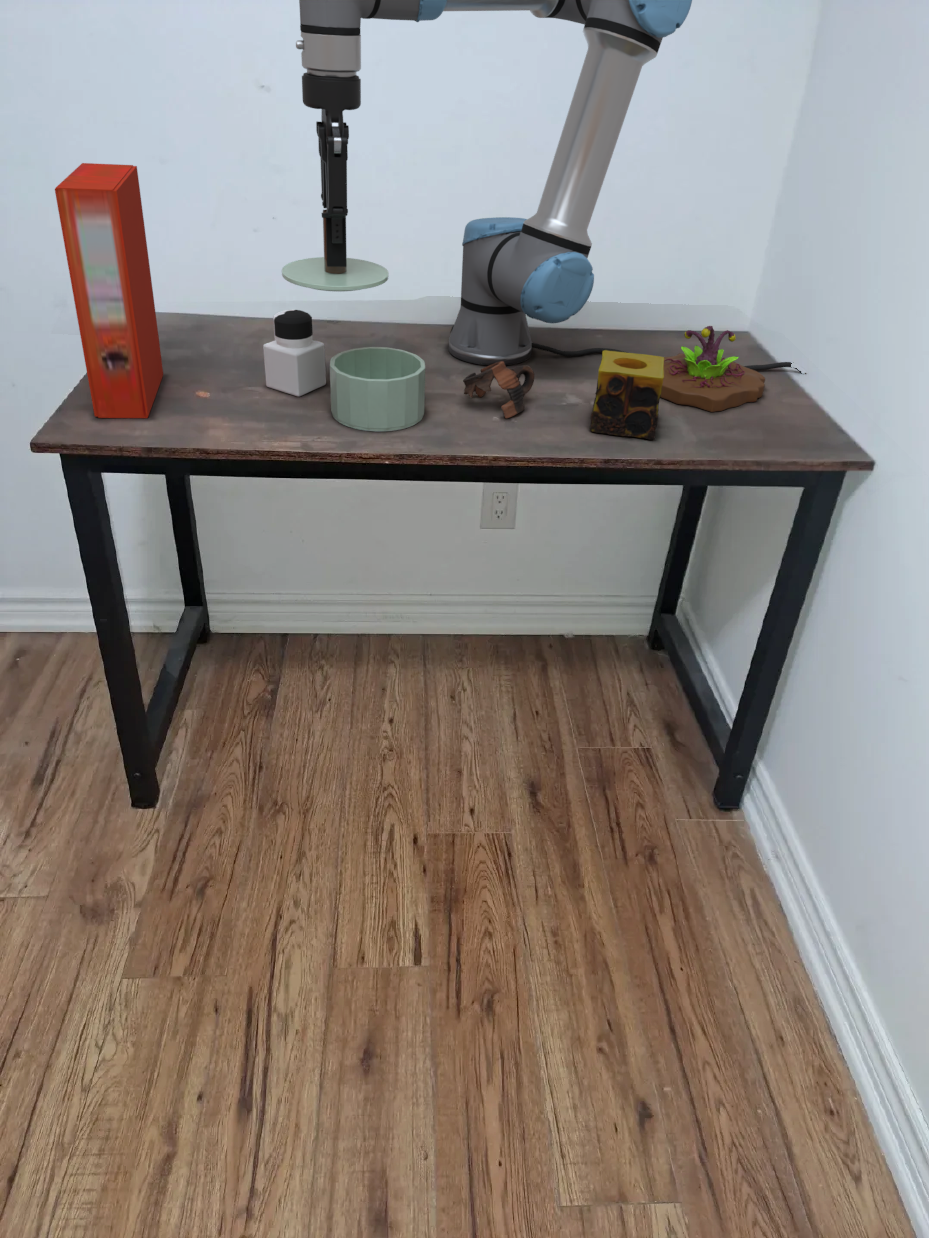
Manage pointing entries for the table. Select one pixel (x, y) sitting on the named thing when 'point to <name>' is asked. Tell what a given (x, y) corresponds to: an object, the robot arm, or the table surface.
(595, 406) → the yellow brown holed block
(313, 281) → the basin lid
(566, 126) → the robot arm
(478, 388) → the brown grey curved piece
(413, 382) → the basin
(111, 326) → the file binder
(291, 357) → the medicine bottle
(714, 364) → the plant
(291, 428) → the table surface
